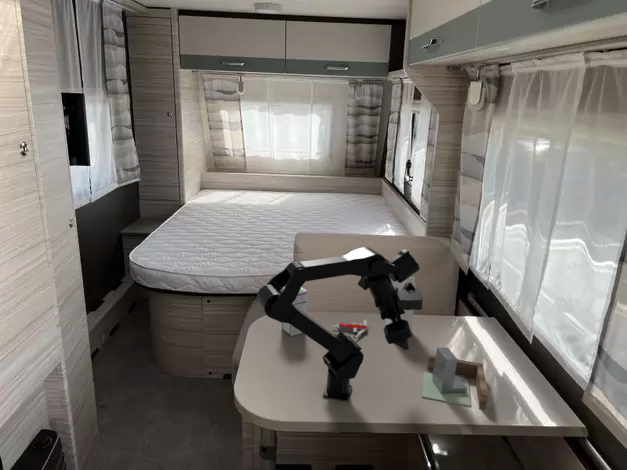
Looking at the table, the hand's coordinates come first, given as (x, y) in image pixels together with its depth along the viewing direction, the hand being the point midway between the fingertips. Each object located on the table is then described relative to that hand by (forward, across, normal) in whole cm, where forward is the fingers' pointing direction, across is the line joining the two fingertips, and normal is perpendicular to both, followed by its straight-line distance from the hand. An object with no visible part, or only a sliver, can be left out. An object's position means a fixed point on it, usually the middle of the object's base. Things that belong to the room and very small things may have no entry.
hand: (403, 337), depth 126 cm
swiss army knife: (+12, +25, +18) cm, 33 cm away
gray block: (+16, -5, -6) cm, 18 cm away
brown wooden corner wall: (+17, -5, -7) cm, 20 cm away
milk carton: (+19, +26, +4) cm, 32 cm away
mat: (+16, -6, -5) cm, 18 cm away
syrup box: (+3, +22, +34) cm, 41 cm away
